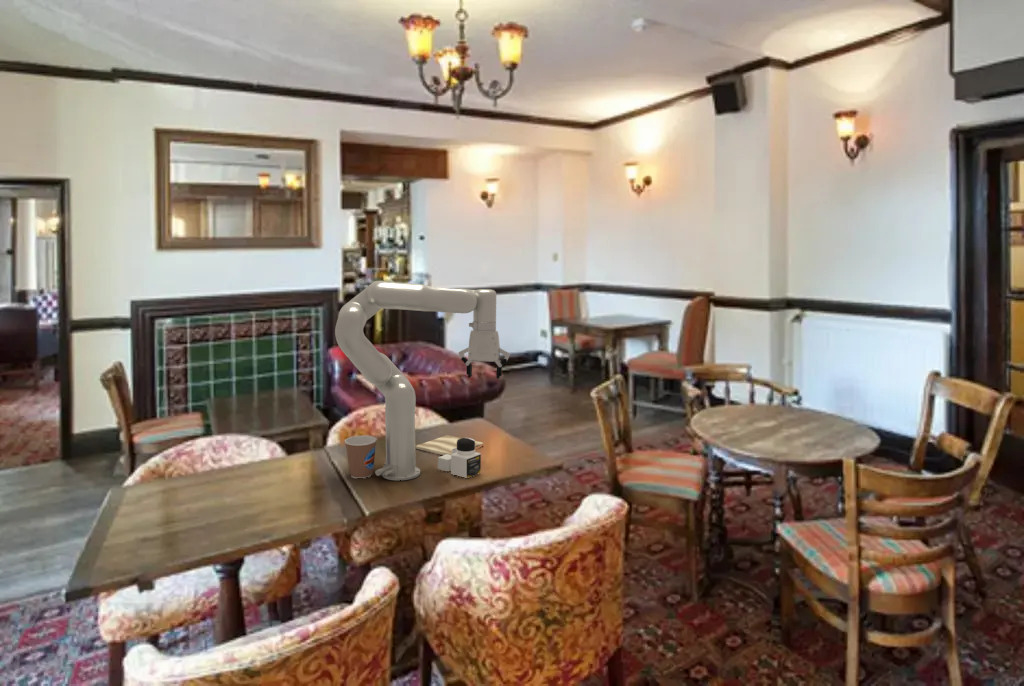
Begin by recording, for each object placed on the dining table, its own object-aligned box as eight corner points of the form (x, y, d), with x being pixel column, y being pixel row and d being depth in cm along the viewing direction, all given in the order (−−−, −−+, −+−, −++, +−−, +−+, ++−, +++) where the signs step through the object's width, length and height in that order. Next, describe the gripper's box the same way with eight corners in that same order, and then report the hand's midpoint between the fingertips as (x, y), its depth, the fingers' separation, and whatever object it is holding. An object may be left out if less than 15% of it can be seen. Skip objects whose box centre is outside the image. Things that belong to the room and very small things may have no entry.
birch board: (452, 458, 228) (452, 454, 228) (415, 449, 238) (415, 445, 238) (483, 446, 242) (483, 442, 242) (447, 438, 253) (447, 434, 252)
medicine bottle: (467, 479, 207) (467, 443, 205) (450, 474, 211) (450, 439, 209) (481, 473, 212) (481, 438, 211) (464, 469, 217) (464, 435, 215)
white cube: (448, 472, 213) (448, 459, 213) (438, 470, 216) (438, 457, 215) (456, 469, 217) (456, 456, 216) (446, 466, 219) (446, 454, 219)
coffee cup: (369, 481, 204) (369, 445, 202) (339, 479, 206) (338, 443, 204) (382, 471, 214) (381, 436, 212) (353, 468, 216) (353, 434, 214)
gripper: (456, 327, 209) (456, 378, 211) (508, 328, 207) (507, 380, 209) (461, 324, 216) (461, 374, 219) (512, 326, 214) (511, 376, 216)
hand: (484, 377), depth 214 cm, fingers open, 9 cm apart
